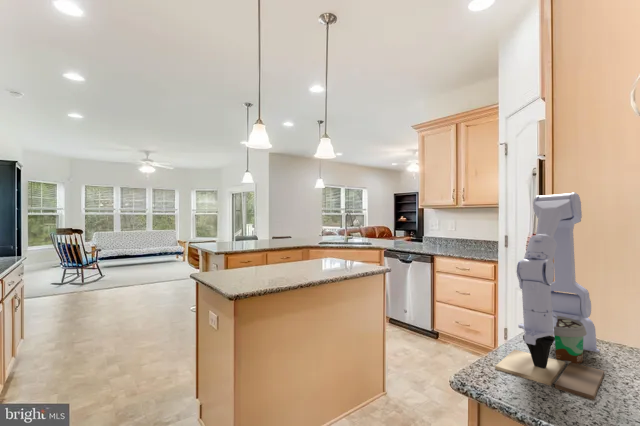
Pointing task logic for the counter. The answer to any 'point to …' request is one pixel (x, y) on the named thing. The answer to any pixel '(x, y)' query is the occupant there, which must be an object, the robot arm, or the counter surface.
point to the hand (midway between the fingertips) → (540, 366)
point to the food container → (569, 340)
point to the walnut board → (580, 380)
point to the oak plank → (530, 367)
